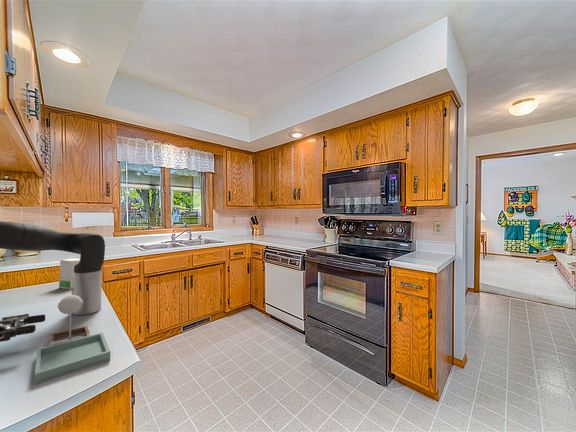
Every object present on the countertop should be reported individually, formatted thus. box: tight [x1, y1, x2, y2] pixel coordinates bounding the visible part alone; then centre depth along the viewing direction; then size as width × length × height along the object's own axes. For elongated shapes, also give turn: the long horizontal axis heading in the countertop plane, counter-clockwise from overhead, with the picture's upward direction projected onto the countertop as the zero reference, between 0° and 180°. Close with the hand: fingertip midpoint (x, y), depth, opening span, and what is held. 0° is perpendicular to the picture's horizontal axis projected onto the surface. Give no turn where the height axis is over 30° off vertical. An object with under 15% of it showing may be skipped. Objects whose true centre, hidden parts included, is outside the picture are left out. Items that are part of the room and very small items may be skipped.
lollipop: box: [57, 294, 83, 340], centre depth 81 cm, size 6×6×15 cm
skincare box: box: [58, 257, 80, 290], centre depth 139 cm, size 8×7×16 cm
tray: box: [34, 332, 111, 385], centre depth 71 cm, size 15×15×2 cm
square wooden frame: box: [49, 325, 91, 346], centre depth 81 cm, size 10×10×2 cm
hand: (40, 322), depth 77 cm, fingers open, 8 cm apart
